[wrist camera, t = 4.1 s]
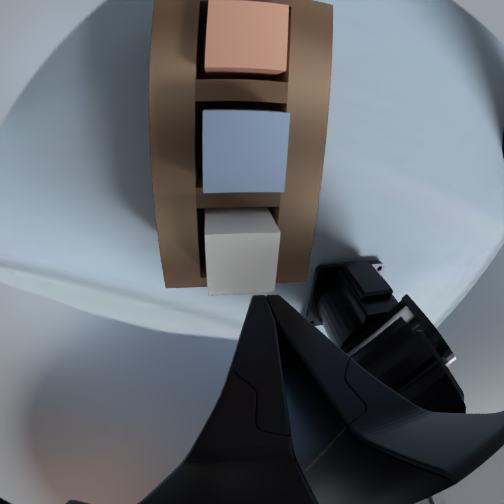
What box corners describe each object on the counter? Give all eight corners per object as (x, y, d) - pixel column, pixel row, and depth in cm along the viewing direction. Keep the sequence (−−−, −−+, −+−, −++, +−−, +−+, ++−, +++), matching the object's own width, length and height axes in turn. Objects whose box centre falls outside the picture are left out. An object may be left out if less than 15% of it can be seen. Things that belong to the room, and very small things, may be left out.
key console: (285, 240, 20) (305, 281, 16) (173, 244, 19) (165, 288, 15) (300, 26, 13) (332, 5, 8) (169, 21, 11) (155, -6, 7)
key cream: (261, 252, 17) (274, 291, 13) (207, 254, 16) (207, 295, 13) (264, 201, 15) (280, 232, 12) (205, 202, 15) (204, 234, 11)
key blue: (266, 169, 14) (284, 192, 11) (204, 170, 14) (203, 193, 10) (269, 110, 13) (290, 113, 9) (205, 109, 12) (203, 110, 9)
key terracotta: (267, 78, 12) (286, 70, 9) (206, 76, 12) (204, 67, 9) (269, 26, 11) (288, 5, 8) (208, 23, 10) (208, -1, 7)
